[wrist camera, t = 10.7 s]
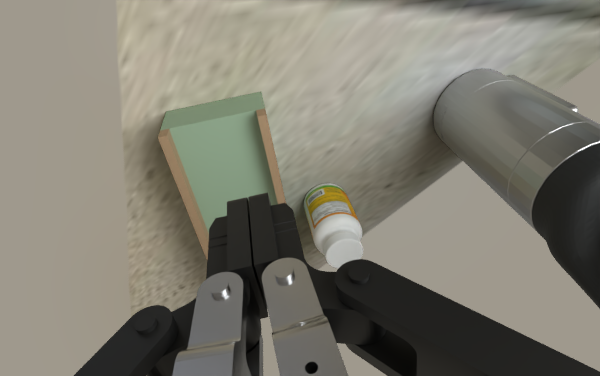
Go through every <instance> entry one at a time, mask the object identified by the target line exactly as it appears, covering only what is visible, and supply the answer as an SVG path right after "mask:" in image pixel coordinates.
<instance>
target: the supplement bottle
mask: <svg viewBox="0 0 600 376" xmlns="http://www.w3.org/2000/svg"><path fill="white" fill-rule="evenodd" d="M304 210H305V213H306V217H307V220H308V224H309V227H310V231H311V234H312V238H313V241H314V244H315V246H316V248H317V249H318V250H319V251H320V252H321V253H323V254H324V256H325V259H326V261H327V263H328V264H329V265H330V266H332V267H334V268H339V267H340V266H342V265H343V264H344V263H346V262H349V261H352V260H357V259H361V257H362V255H363V246H362V244H361V242H360V241H361V238H362V228H361V225H360V223H359V221H358V218H357V216H356V214H355V212H354V210H353V208H352V206H351V203H350V201H349V199H348V197H347V195H346V193H345V191H344V190H343V189H342V188H341V187H339V186H338V185H335V184H330V183H326V184H321V185H318V186H316V187H314V188H313V189H311V190H310V191H309V192H308V193H307V195H306V197H305V199H304Z"/></svg>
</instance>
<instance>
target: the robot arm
mask: <svg viewBox="0 0 600 376" xmlns="http://www.w3.org/2000/svg"><path fill="white" fill-rule="evenodd" d="M433 121H434V128H435V131H436V133H437V135H438V136H439V138H440V139H441V140H442V141H443V142H444V143H445V144H446V145H447V146H448V147H449V148H450V149H451V150H453V151H454V152H455V153H456V155H457V156H459V157H460V158H461V159H462V160H463V161H464V162H465V163H466V164H467V165H468V166H469V167H470V168H471V169H472V170H473V171H474V172H475V173H476V174H477V175H478V176H479V177H480V178H481V179H482V180H483V181H485V182H486V183H487V184H488V185H489V186H490V187H491V188H492V189H493V190H494V191H495V192H496V193H497V194H498V195H499V196H500V197H501V198H502V199H503V200H504V201H505V202H507V204H509V206H511V207H512V208H513V209H514V210H515V211H516V212H517V213H518V214H519V215H520V216H521V217H522V218H523V219H524V220H525V221H526V222H527V223H528V224H529V225H531V226H532V227H533V228H534V229H535V230H536V231H537V232H538V233H539V234H540V235H541V236H542V237H543V238H544V239H545V240H546V242H547V244H548V247H549V249H550V252H551V254H552V255H553V257H554V258H555V260H556V261H557V262H558V263H559V264H560V265H561V267H562V268H563V269H564V270H565V271H566V272H567V273H568V274H569V275H570V276H571V277H572V278H573V279H574V280H575V281H576V283H577V284H578V285H579V286H580V287H581V288H582V289H583V290H584V291H585V293H586V294H587V295H588V296H589V297H590V298H591V299H592V300H593V302H594V303H595V304H596V305H597V306H598V307H599V308H600V124H599V123H597V122H595V121H593V120H591V119H589V118H587V117H585V116H583V115H581V114H579V113H578V108H577V107H576V106H575V105H573V104H571V103H569V102H567V101H565V100H563V99H561V98H559V97H557V96H555V95H553V94H551V93H549V92H547V91H545V90H543V89H541V88H539V87H537V86H535V85H533V84H531V83H529V82H527V81H525V80H523V79H521V78H519V77H517V76H515V75H512V76H505V75H503V74H502V73H500V72H498V71H494V70H491V69H479V70H474V71H471V72H468V73H466V74H464V75H462V76H460V77H459V78H457V79H456V80H455V81H453V82H452V83H451V84H450V85H449V86H448V87H447V88H446V89H445V91H444V92H443V93H442V95H441V97H440V98H439V100H438V102H437V105H436V107H435V110H434V117H433ZM248 200H249V201H248ZM208 248H209V249H208V260H207V279H206V280H205V281H204V282H203V283H202V284H201V286H200V287H199V289H198V292H197V297H196V298H195V299H194V300H193V301H191V302H190V303H188V304H186V305H185V306H183V307H181V308H179V309H177V310H175V311H173V312H171V311H170V310H169V309H168V308H166V307H164V306H160V305H155V306H150V307H147V308H144V309H142V310H140V311H139V312H137V313H136V314H134V315H133V316H132V317H131V318H130V319H129V320H128V321H127V322H126V323H125V324H124V325H123V326H122V327H121V328H120V329H119V330H118V332H116V333H115V334H114V335H113V336H112V337H111V338H110V339H109V340H108V341H107V343H106V344H104V345H103V346H102V348H101V349H100V350H99V351H98V352H97V353H96V354H95V355H94V356H93V357H92V358H91V359H90V360H89V361H88V362H87V363H86V364H85V365H84V366H83V367H82V368H81V369H80V370H79V371H78V372H77V373H76V374H75V375H74V376H146V375H147V376H263V339H262V335H261V322H260V319H261V318H266V317H268V312H267V308H268V311H269V317H270V321H271V326H272V331H273V333H272V338H273V343H274V348H275V353H276V358H277V363H278V368H279V372H280V376H348V374H347V371H346V368H345V365H344V362H343V360H342V357H341V354H340V351H339V349H338V346H337V343H345V344H346V345H347V347H348V348H349V349H350V350H351V351H352V352H353V353H355V354H357V355H358V356H359V357H361V358H362V359H364V360H365V361H367V362H368V363H370V364H371V365H373V366H374V367H376V368H377V369H378V370H380V371H381V372H383V373H384V374H386V375H387V376H600V372H599V371H597V370H595V369H593V368H591V367H589V366H587V365H585V364H583V363H581V362H579V361H577V360H575V359H573V358H570V357H568V356H566V355H564V354H562V353H560V352H558V351H556V350H554V349H552V348H550V347H548V346H546V345H544V344H541V343H539V342H537V341H535V340H533V339H531V338H529V337H527V336H525V335H523V334H521V333H519V332H517V331H515V330H512V329H510V328H508V327H506V326H504V325H502V324H500V323H498V322H496V321H494V320H492V319H490V318H488V317H486V316H484V315H481V314H479V313H477V312H475V311H473V310H471V309H469V308H467V307H465V306H463V305H461V304H458V303H457V302H454V301H452V300H450V299H448V298H446V297H444V296H442V295H440V294H438V293H436V292H433V291H432V290H430V289H427V288H426V287H423V286H421V285H419V284H417V283H415V282H413V281H411V280H409V279H407V278H405V277H403V276H401V275H398V274H397V273H395V272H392V271H390V270H388V269H386V268H384V267H382V266H380V265H378V264H376V263H374V262H371V261H368V260H363V259H357V260H352V261H349V262H346V263H344V264H343V265H342V266H340V267H339V269H338V270H337V272H325V271H319V270H316V269H314V268H312V267H311V266H309V265H308V264H307V262H306V261H305V258H304V255H303V251H302V247H301V242H300V238H299V234H298V230H297V226H296V222H295V218H294V214H293V210H292V209H291V208H290V207H289V206H288V205H287V204H286V203H281V204H276V205H272V206H271V202H270V198H269V194H268V192H267V193H263V194H258V195H254V196H249V197H248V198H247V197H245V198H241V199H236V200H232V201H227V216H223V217H219V218H215V220H214V222H213V223H212V225H211V226H210V228H209V242H208Z"/></svg>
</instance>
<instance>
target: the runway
mask: <svg viewBox="0 0 600 376" xmlns="http://www.w3.org/2000/svg"><path fill="white" fill-rule="evenodd" d="M158 140H159V142H160V145H161V147H162V150H163V152H164V155H165V157H166V160H167V162H168V164H169V167H170V169H171V172H172V174H173V177H174V179H175V182H176V184H177V187H178V189H179V192H180V194H181V197H182V199H183V202H184V204H185V207H186V209H187V212H188V214H189V217H190V219H191V222H192V224H193V227H194V229H195V232H196V234H197V237H198V239H199V242H200V244H201V247H202V249H203V252H204V254H205V257H206V259H207V260H208V249H209V248H208V242H209V228H210V226H211V225H212V223H213V222H214V220H215V218H219V217H223V216H227V201H232V200H236V199H241V198H245V197H247V198H248V197H249V196H254V195H258V194H263V193H267V192H268V194H269V198H270V202H271V206H272V205H276V204H281V203H286V201H285V197H284V192H283V188H282V183H281V179H280V174H279V170H278V165H277V161H276V156H275V152H274V147H273V143H272V138H271V134H270V129H269V124H268V120H267V115H266V111H265V107H264V102H263V98H262V93H261V92H258V93H253V94H248V95H243V96H239V97H234V98H229V99H224V100H219V101H215V102H210V103H205V104H200V105H196V106H191V107H186V108H181V109H177V110H172V111H167V112H166V114H165V117H164V120H163V123H162V126H161V129H160V132H159V136H158ZM248 201H249V200H248Z"/></svg>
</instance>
